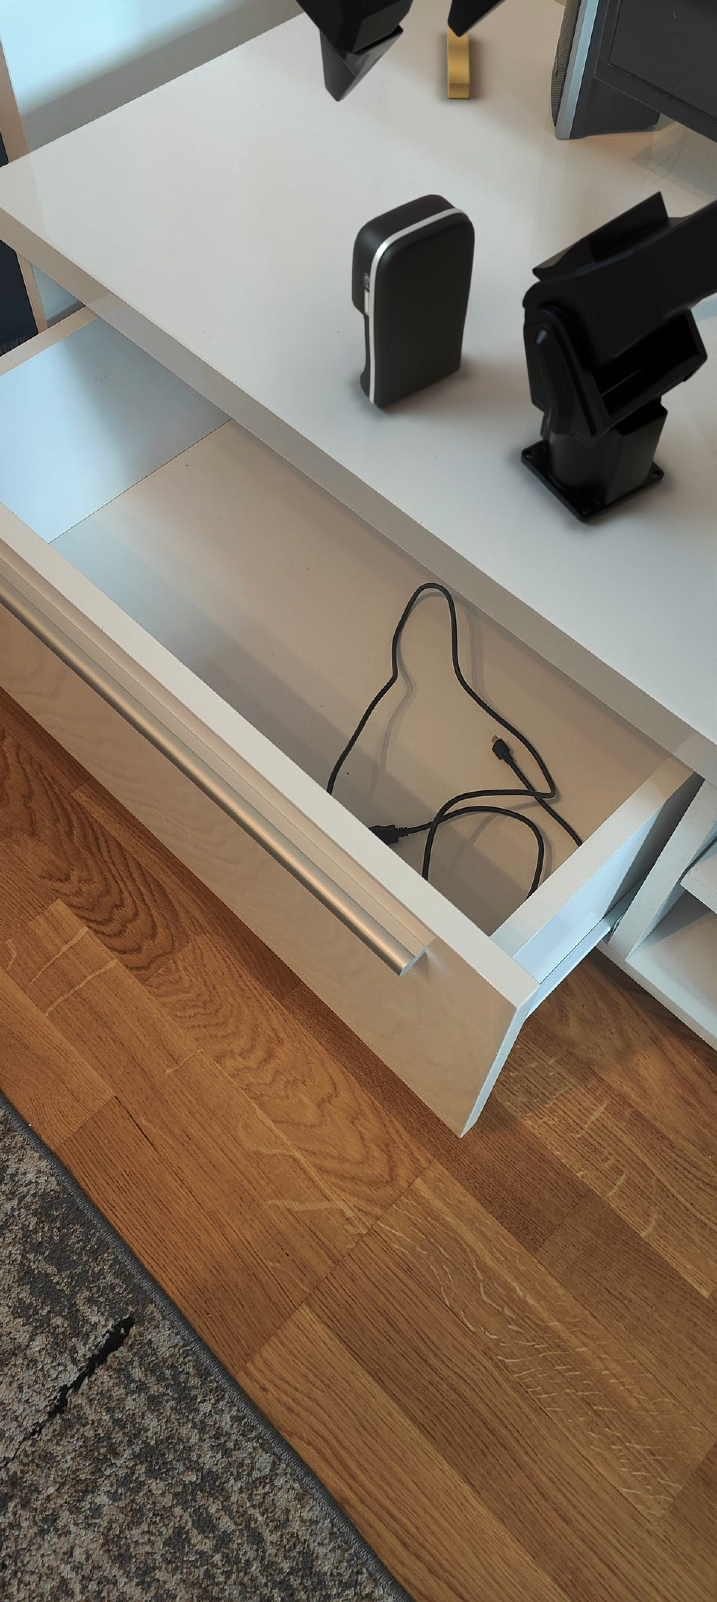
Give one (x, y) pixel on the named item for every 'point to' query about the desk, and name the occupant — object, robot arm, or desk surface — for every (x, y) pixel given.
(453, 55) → the fry stick
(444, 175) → the desk surface
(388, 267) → the battery charger
